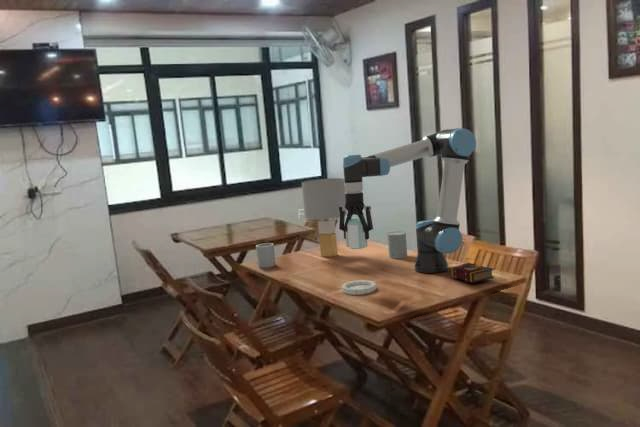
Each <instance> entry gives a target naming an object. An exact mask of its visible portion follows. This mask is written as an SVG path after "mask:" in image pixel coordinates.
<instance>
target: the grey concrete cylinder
mask: <svg viewBox="0 0 640 427" xmlns="http://www.w3.org/2000/svg"><path fill="white" fill-rule="evenodd" d="M406 233H407V232H406V231H392V232H388V233H387V247H388V258H390V259H394V260H399V259H405V258H407V257H408V246H407V245H408V244H407V235H406Z"/></svg>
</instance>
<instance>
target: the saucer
mask: <svg viewBox="0 0 640 427" xmlns="http://www.w3.org/2000/svg"><path fill="white" fill-rule="evenodd" d="M376 290H377V284H376V282H375V281H372V280H364V279H359V280H351V281H348V282H345V283H342V285H341V291H342V293H343V294H346V295H350V296H355V295H356V296H358V295H368V294H370V293H373V292H375V291H376Z"/></svg>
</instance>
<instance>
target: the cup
mask: <svg viewBox="0 0 640 427" xmlns="http://www.w3.org/2000/svg"><path fill="white" fill-rule="evenodd" d="M255 250H256V259H257V260H256V261H257V267H259V268H262V269H263V268H272V267H274V266H276V254H275V247H274V243H272V242H266V243H265V242H264V243H259V244H256V245H255Z"/></svg>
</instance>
